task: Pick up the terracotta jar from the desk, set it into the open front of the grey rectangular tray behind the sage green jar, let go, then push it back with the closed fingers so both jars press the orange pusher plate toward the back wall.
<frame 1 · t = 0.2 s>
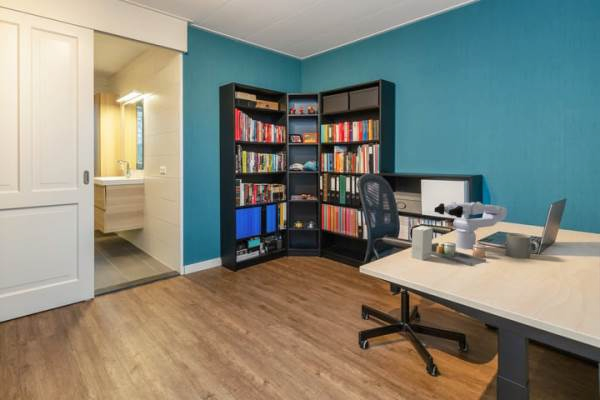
hand: (441, 211, 160), 21 cm above the table, tool horizontal, fingers open, 7 cm apart
loaded jar: (449, 255, 158), point 1 cm above the table, touching grey rectangular tray
grey rectangular tray: (452, 257, 156), on the table
skincare box: (421, 259, 155), on the table
pusher: (443, 248, 160), point 3 cm above the table, slide at 0.0 cm
coffee mug: (520, 256, 158), on the table
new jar: (478, 257, 157), on the table
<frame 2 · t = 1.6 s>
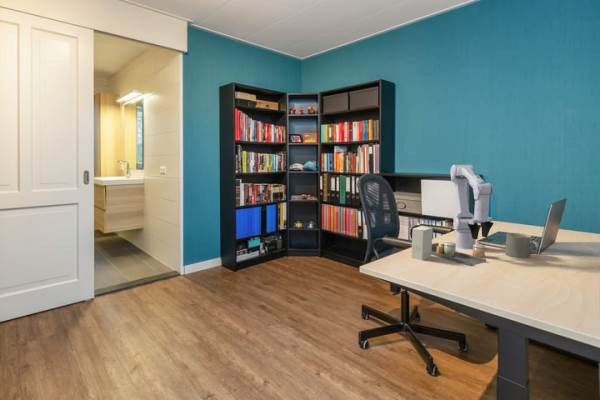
hand: (479, 237, 155), 9 cm above the table, tool pointing down, fingers open, 7 cm apart
nothing on the table moved.
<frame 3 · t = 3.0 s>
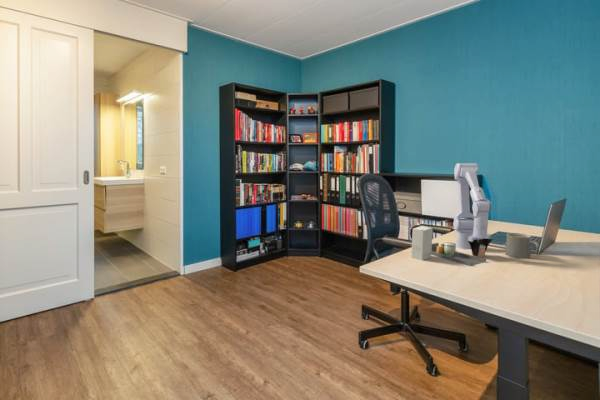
hand: (478, 254, 156), 1 cm above the table, tool pointing down, fingers closed on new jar, 5 cm apart
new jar: (478, 257, 157), on the table, touching gripper
everything else where it was.
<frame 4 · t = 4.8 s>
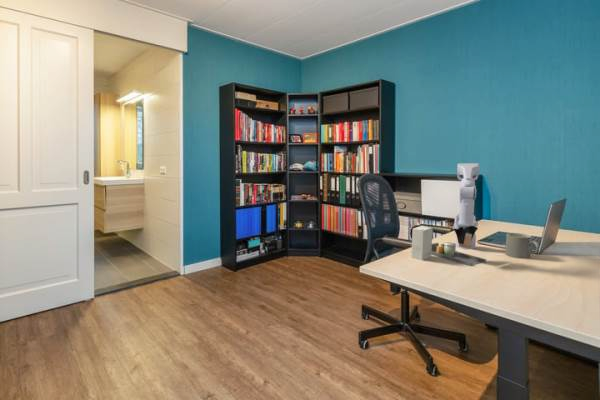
hand: (464, 242, 150), 8 cm above the table, tool pointing down, fingers closed on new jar, 5 cm apart
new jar: (464, 246, 150), point 7 cm above the table, touching gripper
everything else where it was.
when the fingers open (2 cm above the table, at t = 7.1 s): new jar stays where it is, resting on grey rectangular tray.
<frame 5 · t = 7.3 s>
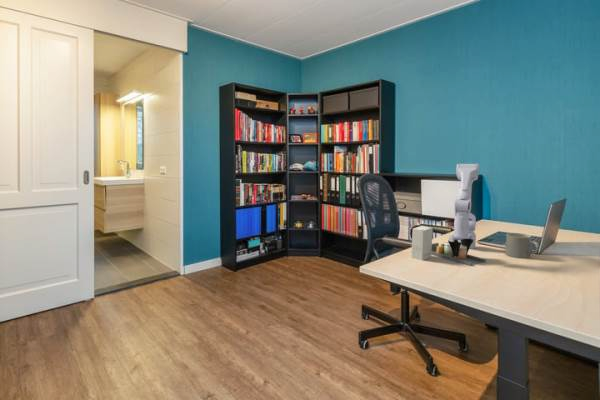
hand: (460, 254, 153), 2 cm above the table, tool pointing down, fingers open, 6 cm apart
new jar: (460, 258, 153), point 1 cm above the table, touching grey rectangular tray
everything else where it was.
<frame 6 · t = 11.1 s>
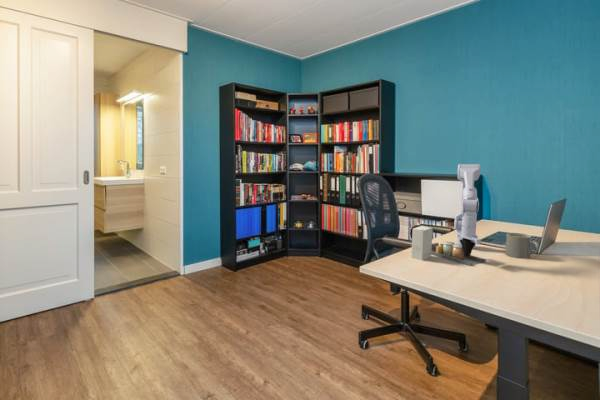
hand: (467, 255, 150), 3 cm above the table, tool pointing down, fingers closed
loaded jar: (448, 254, 158), point 1 cm above the table, touching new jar, pusher
pusher: (442, 248, 161), point 3 cm above the table, slide at 0.3 cm, touching loaded jar
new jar: (457, 257, 154), point 1 cm above the table, touching loaded jar
everything else where it was.
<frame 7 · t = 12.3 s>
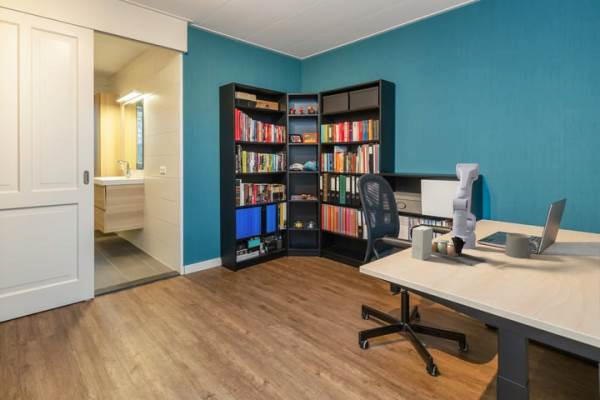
hand: (458, 253, 153), 3 cm above the table, tool pointing down, fingers closed
loaded jar: (443, 252, 162), point 1 cm above the table, touching grey rectangular tray, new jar, pusher
pusher: (436, 246, 164), point 3 cm above the table, slide at 4.2 cm, touching loaded jar
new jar: (452, 255, 158), point 1 cm above the table, touching gripper, loaded jar
everything else where it was.
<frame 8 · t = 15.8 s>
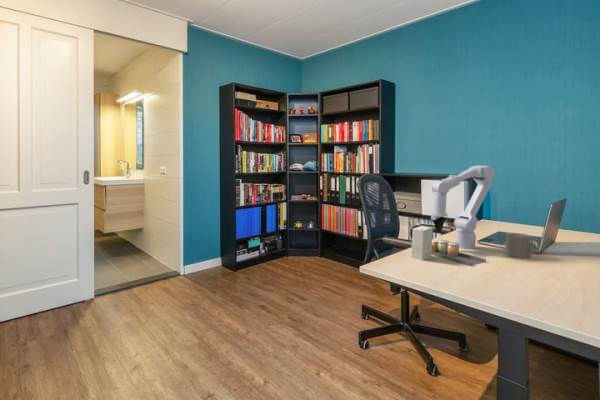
hand: (438, 232, 168), 9 cm above the table, tool pointing down, fingers closed
loaded jar: (443, 252, 162), point 1 cm above the table, touching grey rectangular tray, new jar
pusher: (435, 246, 164), point 3 cm above the table, slide at 4.2 cm
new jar: (452, 255, 158), point 1 cm above the table, touching grey rectangular tray, loaded jar
everything else where it was.
at the end: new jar inside the target area (2.5 cm from its centre), point 0.6 cm above the table; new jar tilted 0°; pusher slide at 4.2 cm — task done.
